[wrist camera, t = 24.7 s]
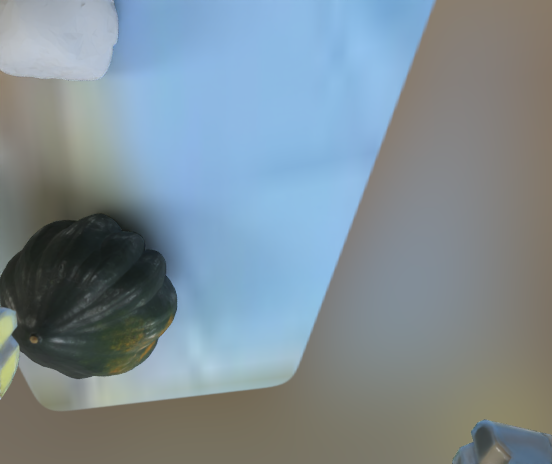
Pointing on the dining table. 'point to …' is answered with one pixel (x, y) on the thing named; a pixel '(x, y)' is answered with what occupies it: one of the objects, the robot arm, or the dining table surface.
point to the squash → (88, 297)
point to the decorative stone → (57, 38)
